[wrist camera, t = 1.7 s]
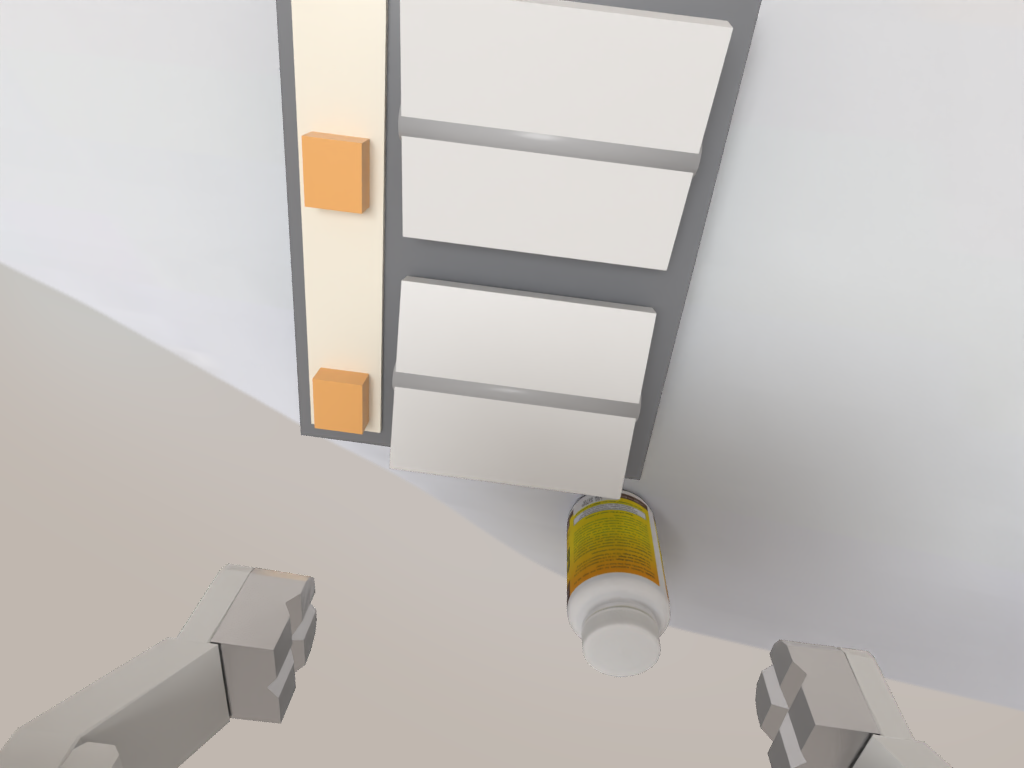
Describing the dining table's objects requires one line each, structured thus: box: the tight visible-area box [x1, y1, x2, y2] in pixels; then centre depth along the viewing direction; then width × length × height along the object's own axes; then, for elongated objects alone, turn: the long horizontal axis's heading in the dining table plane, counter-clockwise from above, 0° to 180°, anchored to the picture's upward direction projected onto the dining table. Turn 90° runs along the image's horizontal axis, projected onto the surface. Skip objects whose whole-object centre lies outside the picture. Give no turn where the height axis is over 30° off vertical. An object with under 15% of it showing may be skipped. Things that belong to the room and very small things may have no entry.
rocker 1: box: [398, 0, 733, 271], centre depth 25 cm, size 11×9×1 cm
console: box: [276, 0, 762, 480], centre depth 31 cm, size 18×22×6 cm
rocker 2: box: [389, 276, 656, 499], centre depth 30 cm, size 11×9×1 cm
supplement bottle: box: [567, 490, 670, 677], centre depth 38 cm, size 6×6×10 cm
